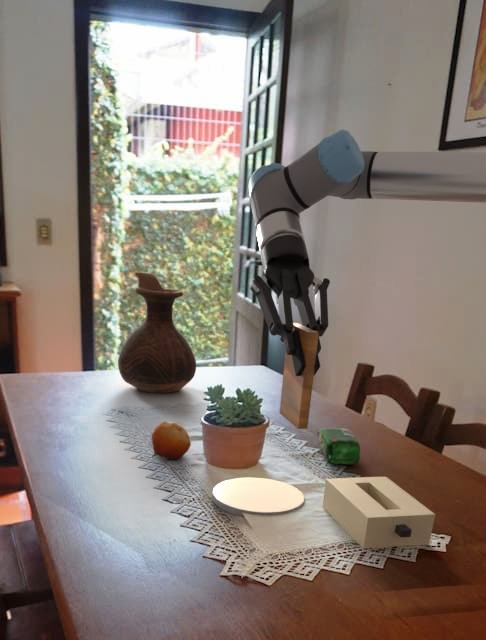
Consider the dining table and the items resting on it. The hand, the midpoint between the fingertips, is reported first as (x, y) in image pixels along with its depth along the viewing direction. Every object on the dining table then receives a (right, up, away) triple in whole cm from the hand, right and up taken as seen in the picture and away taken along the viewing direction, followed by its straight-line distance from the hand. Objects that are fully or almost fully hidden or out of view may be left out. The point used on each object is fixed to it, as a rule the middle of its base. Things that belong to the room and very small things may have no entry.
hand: (307, 371), depth 104 cm
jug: (-29, +12, +88) cm, 93 cm away
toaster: (+11, -25, +6) cm, 28 cm away
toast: (-1, -7, +7) cm, 10 cm away
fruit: (-23, -11, +34) cm, 42 cm away
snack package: (+12, -11, +39) cm, 43 cm away
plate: (-6, -20, +15) cm, 26 cm away
